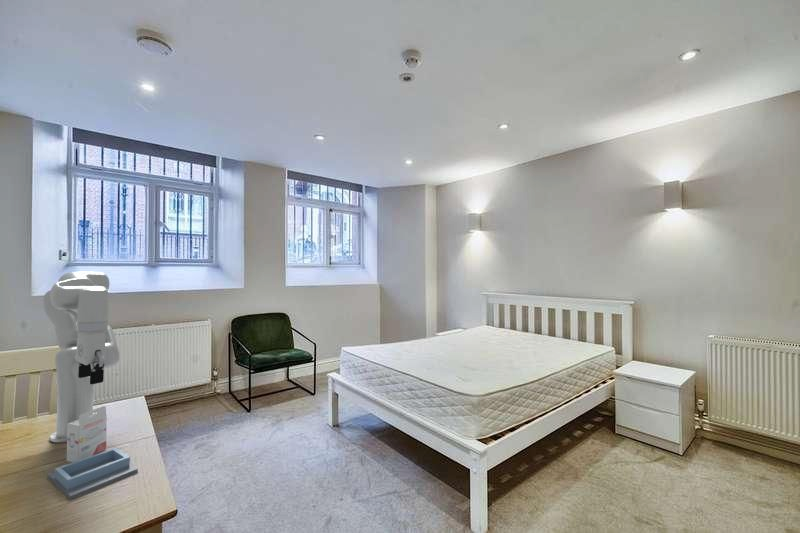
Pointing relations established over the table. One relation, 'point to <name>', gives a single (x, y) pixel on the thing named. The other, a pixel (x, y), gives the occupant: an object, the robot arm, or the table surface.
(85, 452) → the ink cartridge box
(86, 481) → the dock
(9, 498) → the table surface
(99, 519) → the table surface
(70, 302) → the robot arm
